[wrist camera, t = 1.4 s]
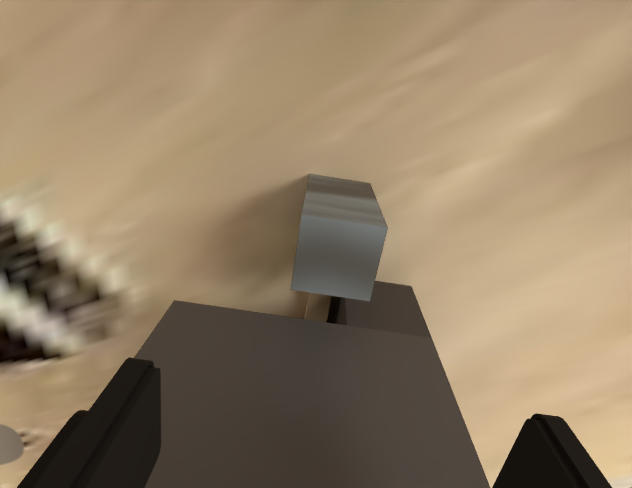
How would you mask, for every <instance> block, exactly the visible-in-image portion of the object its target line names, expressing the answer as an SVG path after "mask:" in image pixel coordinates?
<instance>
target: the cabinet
mask: <svg viewBox="0 0 632 488" xmlns="http://www.w3.org/2000/svg"><path fill="white" fill-rule="evenodd" d="M134 358H135V359H143V360H150V361H153V363H154V367H155V368H160V372H161V449H160V453H159V456H158V459H157V462H156V464H155V466H154V468H153V470H152V473H151V475H150V477H149V479H148V481H147V484H146V486H145V488H490V486H489V483H488V481H487V478H486V476H485V473H484V470H483V468H482V465H481V463H480V460H479V458H478V455H477V453H476V450H475V447H474V445H473V442H472V440H471V437H470V435H469V432H468V430H467V427H466V425H465V422H464V419H463V417H462V414H461V412H460V409H459V407H458V404H457V402H456V399H455V396H454V394H453V391H452V389H451V386H450V384H449V381H448V379H447V376H446V373H445V371H444V368H443V366H442V363H441V361H440V358H439V356H438V353H437V351H436V348H435V345H434V343H433V340H432V338H431V335H430V333H429V330H428V328H427V325H426V322H425V320H424V317H423V315H422V312H421V310H420V307H419V305H418V302H417V299H416V297H415V294H414V292H413V289H412V287H411V286H405V285H399V284H392V283H385V282H379V281H375V282H374V286H373V290H372V294H371V299H370V301H364V300H357V299H350V298H344V297H339V301H338V306H337V311H336V316H335V321H334V324H333V323H326V322H319V321H313V320H306V319H299V318H292V317H285V316H278V315H271V314H265V313H258V312H251V311H244V310H237V309H230V308H223V307H217V306H210V305H203V304H196V303H189V302H182V301H175V300H174V302H173V303H172V305H171V306H170V307H169V309H168V310H167V312H166V313H165V315H164V316H163V317H162V319H161V320H160V322H159V323H158V325H157V326H156V327H155V329H154V330H153V332H152V333H151V335H150V336H149V337H148V339H147V340H146V342H145V343H144V345H143V346H142V347H141V349H140V350H139V352H138V353H137V355H136V356H135V357H134Z"/></svg>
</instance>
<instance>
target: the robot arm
mask: <svg viewBox="0 0 632 488" xmlns="http://www.w3.org/2000/svg"><path fill="white" fill-rule="evenodd" d="M160 449H161V372H160V368H155V367H154V363H153V361H150V360H143V359H135V358H128V359H126V361H125V362H124V363H123V364H122V366H121V367H120V368H119V370H118V371H117V373H116V374H115V375H114V377H113V378H112V379H111V381H110V382H109V384H108V385H107V386H106V388H105V389H104V390H103V392H102V393H101V395H100V396H99V397H98V399H97V400H96V401H95V403H94V404H93V406H92V407H91V408H90V410H89V411H85V410H80V411H78V412H76V413H75V414H74V415H73V416H72V417H71V418H70V419H69V420H68V422H67V423H66V424H65V425H64V427H63V428H62V429H61V431H60V432H59V433H58V435H57V436H56V437H55V438H54V440H53V441H52V442H51V444H50V445H49V446H48V448H47V449H46V450H45V452H44V453H43V454H42V455H41V457H40V458H39V459H38V461H37V462H36V463H35V465H34V466H33V467H32V468H31V470H30V471H29V472H28V474H27V475H26V476H25V478H24V479H23V480H22V482H21V483H20V484H19V485H18V487H17V488H145V486H146V484H147V481H148V479H149V477H150V475H151V473H152V470H153V468H154V466H155V464H156V462H157V459H158V456H159V453H160ZM493 488H612V487H611V485H610V484H609V483H608V481H607V480H606V478H605V477H604V475H603V474H602V473H601V471H600V470H599V468H598V467H597V466H596V464H595V463H594V461H593V460H592V458H591V457H590V456H589V454H588V453H587V451H586V450H585V448H584V447H583V446H582V444H581V443H580V441H579V440H578V439H577V437H576V436H575V434H574V433H573V431H572V430H571V429H570V427H569V426H568V424H567V423H566V422H565V421H564V419H562V418H561V417H558V416H551V415H543V414H534V415H533V416H532V417H531V419H527V420H526V421H525V423H524V425H523V427H522V429H521V431H520V433H519V435H518V437H517V439H516V441H515V443H514V445H513V447H512V449H511V451H510V453H509V455H508V457H507V459H506V461H505V463H504V465H503V467H502V469H501V471H500V473H499V475H498V477H497V479H496V481H495V483H494V485H493Z"/></svg>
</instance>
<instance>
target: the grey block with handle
mask: <svg viewBox="0 0 632 488" xmlns="http://www.w3.org/2000/svg"><path fill="white" fill-rule="evenodd" d="M387 229H388V227H387V225H386V222H385V220H384V217H383V214H382V212H381V209H380V207H379V204H378V202H377V199H376V197H375V194H374V192H373V189H372V187H371V184H370V183H364V182H357V181H351V180H345V179H338V178H332V177H325V176H319V175H313V174H309V179H308V184H307V189H306V194H305V199H304V204H303V209H302V215H301V221H300V228H299V235H298V242H297V249H296V256H295V263H294V270H293V277H292V284H291V290H296V291H303V292H309V293H308V300H307V306H306V312H305V318H304V319H306V320H313V321H319V322H326V323H327V317H328V312H329V307H330V302H331V297H332V296H337V297H344V298H350V299H357V300H364V301H370V299H371V294H372V290H373V286H374V282H375V278H376V274H377V270H378V266H379V262H380V257H381V253H382V249H383V245H384V241H385V237H386V233H387Z"/></svg>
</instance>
